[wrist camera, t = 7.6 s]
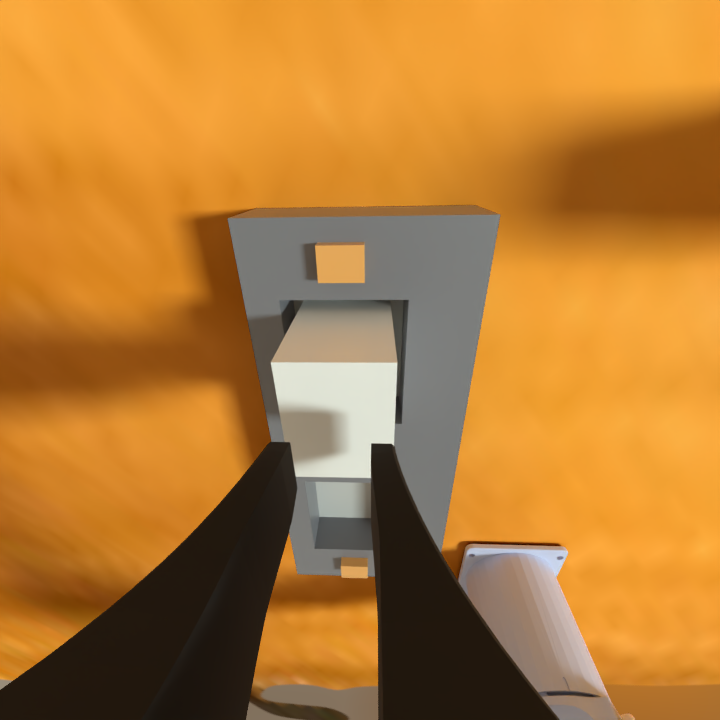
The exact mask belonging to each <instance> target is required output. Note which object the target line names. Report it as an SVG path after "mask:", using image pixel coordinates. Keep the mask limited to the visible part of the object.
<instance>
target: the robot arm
mask: <svg viewBox="0 0 720 720" xmlns="http://www.w3.org/2000/svg"><path fill="white" fill-rule="evenodd" d="M296 494H297V482H296V476H295V469H294V463H293V457H292V451H291V444H290V442H270V443H269V444H268V445H267V446H266V447H265V448H264V450H263V451H262V452H261V454H260V455H259V456H258V458H257V459H256V460H255V461H254V463H253V464H252V465H251V466H250V468H249V469H248V470H247V471H246V473H245V474H244V475H243V476H242V478H241V479H240V480H239V481H238V482H237V484H236V485H235V486H234V487H233V488H232V489H231V491H230V492H229V493H228V494H227V495H226V497H225V498H224V499H223V500H222V501H221V502H220V503H219V505H218V506H217V507H216V508H215V509H214V510H213V511H212V512H211V513H210V514H209V515H208V516H207V518H206V519H205V520H204V521H203V522H202V523H201V524H200V525H199V526H198V527H197V528H196V529H195V530H194V531H193V532H192V533H191V534H190V535H189V536H188V537H187V538H186V539H185V540H184V541H183V542H182V543H181V544H180V545H179V546H178V547H177V548H176V549H175V550H174V551H173V552H172V553H171V554H170V555H169V556H168V557H167V558H166V559H165V560H164V561H163V562H162V563H160V564H159V565H158V566H157V567H156V568H155V569H154V570H153V571H152V572H150V573H149V574H148V575H147V576H146V577H145V578H144V579H143V580H141V581H140V582H139V583H138V584H137V585H136V586H135V587H134V588H132V589H131V590H130V591H129V592H128V593H127V594H125V595H124V596H123V597H122V598H121V599H119V600H118V601H117V602H116V603H115V604H113V605H112V606H111V607H110V608H109V609H107V610H106V611H105V612H103V613H102V614H101V615H100V616H98V617H97V618H96V619H95V620H93V621H92V622H91V623H90V624H88V625H87V626H86V627H84V628H83V629H82V630H81V631H79V632H78V633H77V634H76V635H74V636H73V637H72V638H70V639H69V640H68V641H67V642H65V643H64V644H63V645H62V646H60V647H59V648H58V649H56V650H55V651H54V652H52V653H51V654H50V655H48V656H47V657H46V658H44V659H43V660H41V661H40V662H39V663H37V664H36V665H34V666H33V667H32V668H30V669H29V670H27V671H26V672H25V673H23V674H22V675H20V676H19V677H18V678H16V679H15V680H13V681H12V682H11V683H9V684H8V685H6V686H5V687H4V688H2V689H1V690H0V720H246V716H247V710H248V705H249V699H250V694H251V688H252V683H253V677H254V672H255V667H256V661H257V656H258V651H259V646H260V641H261V636H262V631H263V626H264V621H265V617H266V612H267V608H268V604H269V600H270V597H271V593H272V590H273V586H274V583H275V579H276V576H277V572H278V569H279V565H280V562H281V558H282V555H283V551H284V548H285V544H286V541H287V537H288V533H289V530H290V526H291V523H292V518H293V512H294V506H295V500H296ZM371 531H372V544H373V557H374V569H375V582H376V595H377V611H378V705H379V706H378V716H379V717H378V718H379V719H378V720H635V718H634V717H633V716H632V715H631V714H621V717H622V719H621V717H620V715H619V714H618V712H617V710H616V709H615V707H614V705H613V704H612V702H611V700H610V698H609V696H608V694H607V692H606V689H605V687H604V685H603V682H602V680H601V678H600V676H599V673H598V671H597V669H596V667H595V664H594V662H593V660H592V658H591V655H590V653H589V651H588V649H587V646H586V644H585V642H584V639H583V637H582V635H581V633H580V630H579V628H578V626H577V624H576V621H575V619H574V617H573V615H572V612H571V610H570V608H569V606H568V603H567V601H566V599H565V596H564V594H563V592H562V590H561V587H560V585H559V583H558V581H557V578H556V577H557V575H558V573H559V571H560V569H561V567H562V565H563V563H564V561H565V559H566V557H567V555H568V551H567V549H566V548H565V547H563V546H534V545H497V544H469V545H467V546H466V548H465V552H464V556H463V561H462V565H461V569H460V573H459V578H458V580H457V579H456V577H455V576H454V574H453V572H452V571H451V569H450V567H449V566H448V564H447V562H446V561H445V559H444V557H443V556H442V554H441V552H440V551H439V549H438V547H437V545H436V543H435V542H434V540H433V538H432V536H431V534H430V532H429V530H428V528H427V527H426V525H425V523H424V521H423V519H422V517H421V515H420V513H419V511H418V508H417V506H416V504H415V502H414V500H413V497H412V495H411V493H410V491H409V488H408V486H407V484H406V481H405V478H404V476H403V473H402V470H401V467H400V465H399V461H398V458H397V454H396V450H395V446H394V445H392V444H381V443H371Z"/></svg>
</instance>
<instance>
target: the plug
mask: <svg viewBox="0 0 720 720" xmlns="http://www.w3.org/2000/svg"><path fill="white" fill-rule="evenodd" d="M271 367H272V373H273V378H274V384H275V390H276V396H277V401H278V407H279V413H280V418H281V424H282V430H283V436H284V441H285V442H290V444H291V451H292V457H293V463H294V469H295V476H296V477H342V478H371V443H381V444H392V445H394V432H395V408H396V384H397V355H396V346H395V338H394V329H393V320H392V311H391V303H390V300H304V301H303V303H302V305H301V307H300V309H299V310H298V312H297V314H296V316H295V318H294V320H293V322H292V324H291V325H290V327H289V329H288V331H287V333H286V335H285V337H284V338H283V340H282V342H281V344H280V346H279V348H278V350H277V352H276V353H275V355H274V357H273V359H272V361H271Z"/></svg>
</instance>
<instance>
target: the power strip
mask: <svg viewBox="0 0 720 720" xmlns="http://www.w3.org/2000/svg"><path fill="white" fill-rule="evenodd" d="M499 219H500V214H498V213H495V212H492V211H490V210H487V209H484V208H482V207H479V206H476V205H450V206H382V207H314V208H256V209H253V210H250V211H247V212H244V213H241V214H238V215H235V216H233V217H230V218H228V223H229V228H230V233H231V238H232V243H233V249H234V254H235V259H236V264H237V269H238V274H239V279H240V284H241V289H242V294H243V299H244V304H245V310H246V315H247V320H248V325H249V330H250V335H251V340H252V345H253V350H254V355H255V360H256V365H257V370H258V376H259V381H260V386H261V391H262V396H263V401H264V406H265V411H266V416H267V421H268V426H269V431H270V436H271V442H285V441H284V436H283V430H282V424H281V418H280V413H279V407H278V401H277V396H276V390H275V384H274V378H273V373H272V367H271V361H272V359H273V357H274V355H275V353H276V352H277V350H278V348H279V346H280V344H281V342H282V340H283V338H284V337H285V335H286V333H287V331H288V329H289V327H290V325H291V324H292V322H293V320H294V318H295V316H296V314H297V312H298V310H299V309H300V307H301V305H302V303H303V301H304V300H390V303H391V311H392V320H393V329H394V338H395V346H396V355H397V384H396V408H395V432H394V446H395V450H396V454H397V458H398V461H399V465H400V467H401V470H402V473H403V476H404V478H405V481H406V484H407V486H408V488H409V491H410V493H411V495H412V497H413V500H414V502H415V504H416V506H417V508H418V511H419V513H420V515H421V517H422V519H423V521H424V523H425V525H426V527H427V528H428V530H429V532H430V534H431V536H432V538H433V540H434V542H435V543H436V545H437V547H438V549H439V551H440V552H441V550H442V545H443V539H444V533H445V527H446V522H447V516H448V510H449V505H450V499H451V493H452V487H453V482H454V476H455V470H456V465H457V459H458V453H459V448H460V442H461V436H462V430H463V425H464V419H465V413H466V408H467V402H468V396H469V391H470V385H471V379H472V373H473V368H474V362H475V356H476V351H477V345H478V339H479V334H480V328H481V322H482V316H483V311H484V305H485V299H486V294H487V288H488V282H489V276H490V271H491V265H492V259H493V254H494V248H495V242H496V237H497V231H498V225H499ZM296 482H297V494H296V500H295V506H294V512H293V518H292V523H291V526H290V530H289V533H290V538H291V543H292V548H293V553H294V558H295V563H296V568H297V574H307V575H339V576H342V578H368V576H371V577H375V569H374V557H373V544H372V531H371V478H342V477H296Z"/></svg>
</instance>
